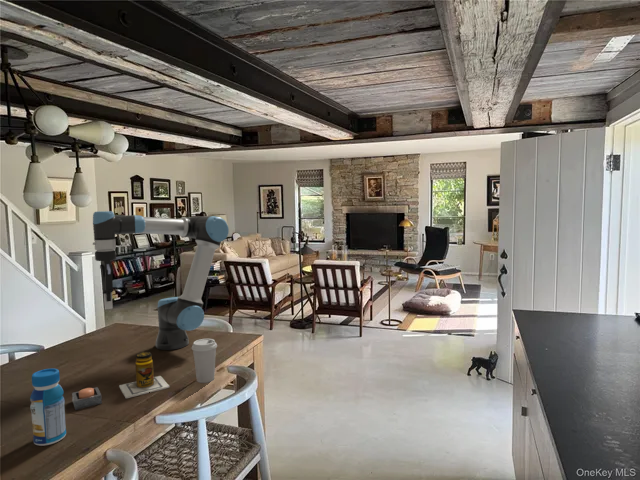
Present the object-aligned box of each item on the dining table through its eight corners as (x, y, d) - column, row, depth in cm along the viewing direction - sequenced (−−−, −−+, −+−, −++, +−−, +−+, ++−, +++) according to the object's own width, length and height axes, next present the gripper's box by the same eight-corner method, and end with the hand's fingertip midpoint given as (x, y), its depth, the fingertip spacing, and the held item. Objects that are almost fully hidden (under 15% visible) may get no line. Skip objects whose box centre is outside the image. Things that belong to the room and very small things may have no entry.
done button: (93, 394, 153) (92, 386, 152) (95, 399, 149) (94, 391, 149) (78, 398, 150) (78, 390, 150) (80, 403, 146) (79, 394, 146)
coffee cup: (208, 386, 161) (207, 346, 160) (187, 382, 165) (185, 344, 163) (223, 376, 170) (221, 339, 169) (202, 373, 174) (201, 336, 172)
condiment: (146, 390, 157) (144, 357, 156) (127, 387, 160) (125, 355, 159) (159, 382, 164) (158, 351, 163) (141, 379, 167) (139, 349, 166)
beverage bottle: (62, 444, 123) (57, 376, 122) (28, 449, 121) (23, 379, 119) (70, 429, 131) (66, 365, 130) (38, 433, 129) (33, 368, 127)
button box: (98, 395, 155) (97, 387, 155) (101, 403, 148) (101, 394, 148) (72, 401, 150) (72, 392, 150) (75, 410, 144) (74, 401, 144)
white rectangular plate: (160, 377, 170) (160, 375, 170) (169, 387, 161) (169, 385, 160) (119, 387, 162) (119, 385, 162) (125, 398, 152) (125, 396, 152)
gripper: (92, 249, 175) (95, 307, 177) (97, 252, 164) (101, 313, 166) (112, 248, 179) (115, 304, 181) (118, 250, 168) (122, 310, 170)
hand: (108, 308), depth 174 cm, fingers closed
